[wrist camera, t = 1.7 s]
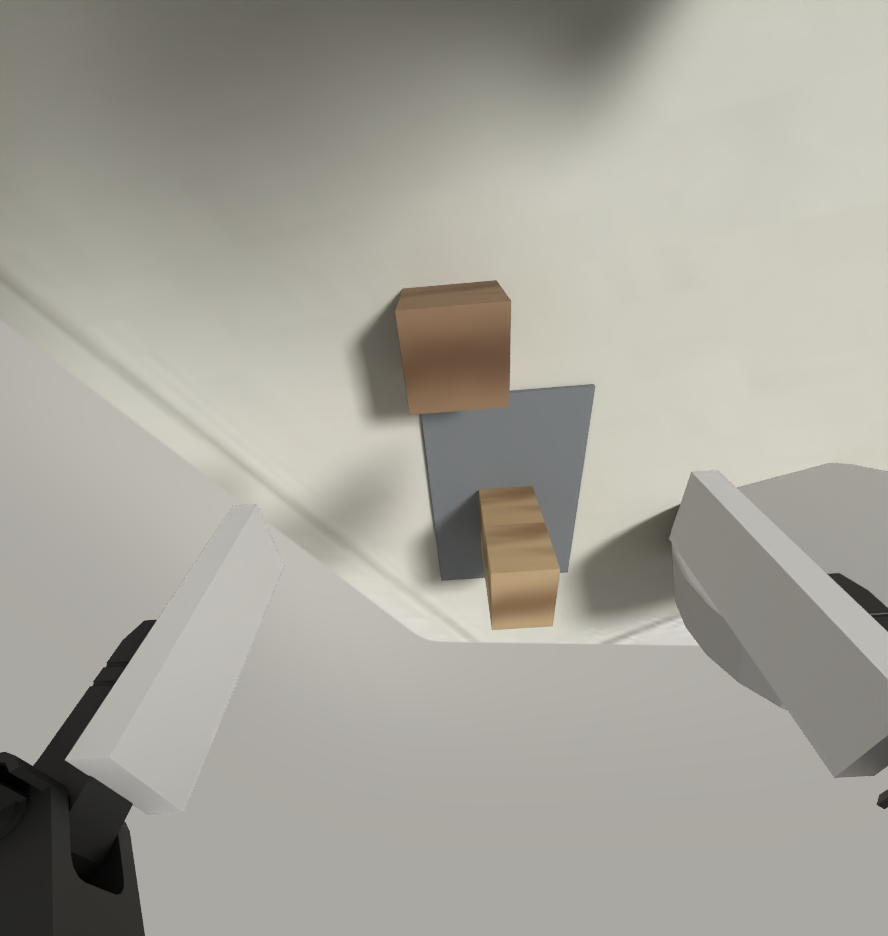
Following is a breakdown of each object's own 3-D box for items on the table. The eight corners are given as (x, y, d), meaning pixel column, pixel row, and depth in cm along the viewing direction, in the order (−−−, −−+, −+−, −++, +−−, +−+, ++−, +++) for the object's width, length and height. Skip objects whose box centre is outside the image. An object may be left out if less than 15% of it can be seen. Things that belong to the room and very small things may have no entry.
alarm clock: (646, 560, 44) (773, 779, 27) (641, 512, 40) (786, 735, 23) (865, 507, 40) (1165, 725, 23) (884, 448, 36) (1262, 661, 19)
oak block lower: (478, 489, 37) (484, 526, 33) (532, 485, 37) (544, 522, 33) (480, 542, 41) (485, 581, 37) (529, 539, 41) (539, 577, 37)
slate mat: (419, 398, 32) (419, 400, 32) (593, 384, 32) (595, 386, 31) (441, 577, 44) (441, 580, 44) (566, 569, 44) (567, 572, 44)
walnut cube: (402, 288, 27) (394, 310, 22) (496, 280, 27) (510, 300, 22) (414, 377, 31) (409, 414, 26) (496, 370, 31) (509, 406, 26)
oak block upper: (484, 526, 33) (491, 573, 29) (544, 522, 33) (560, 569, 29) (485, 581, 37) (492, 629, 33) (539, 577, 37) (552, 626, 33)
